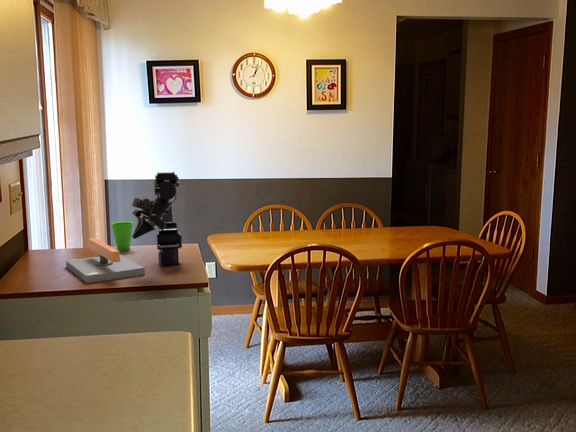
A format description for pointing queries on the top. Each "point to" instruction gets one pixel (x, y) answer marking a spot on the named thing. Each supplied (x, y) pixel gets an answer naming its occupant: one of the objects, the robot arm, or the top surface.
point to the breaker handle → (104, 251)
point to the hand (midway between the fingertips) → (133, 237)
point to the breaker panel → (104, 269)
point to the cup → (122, 234)
